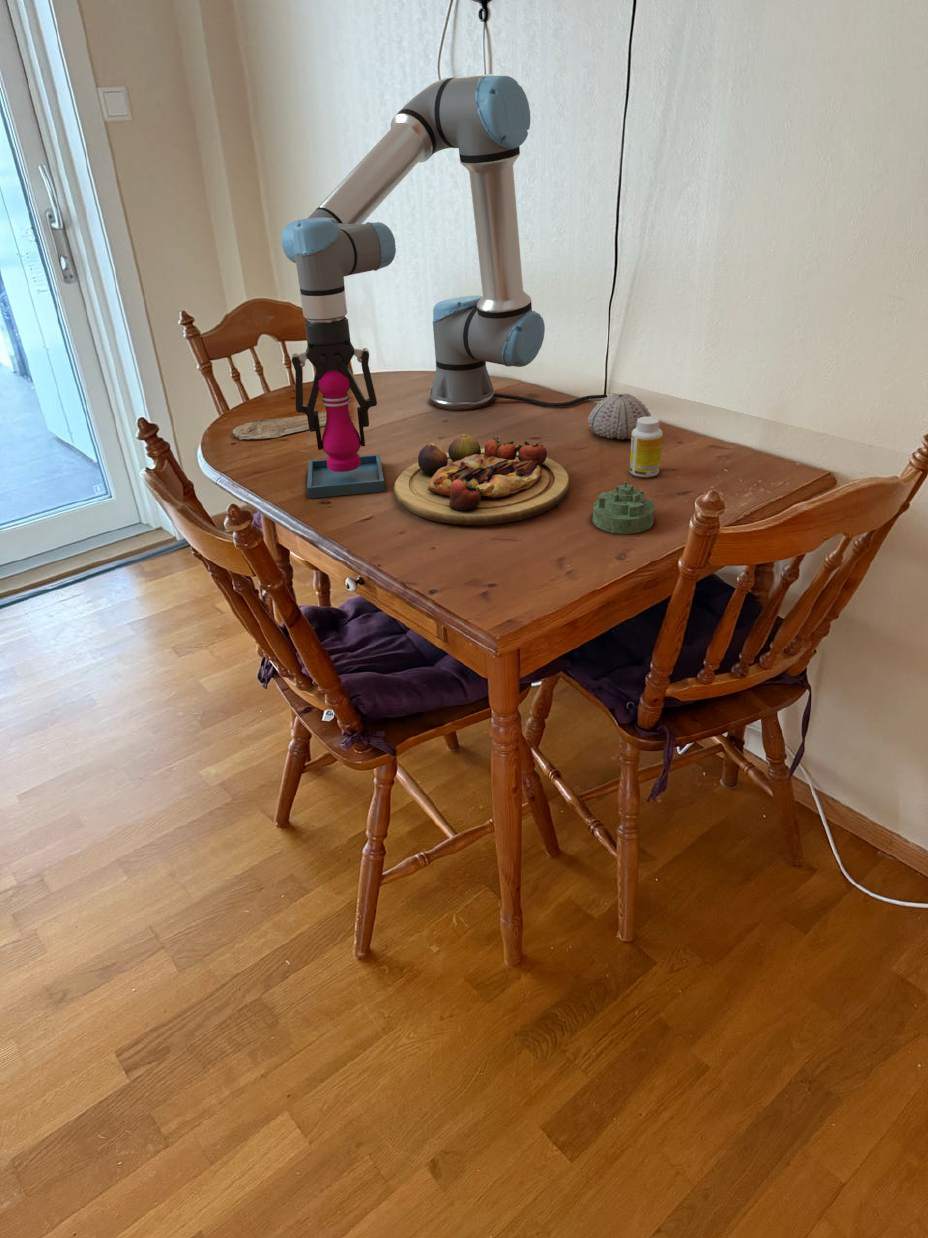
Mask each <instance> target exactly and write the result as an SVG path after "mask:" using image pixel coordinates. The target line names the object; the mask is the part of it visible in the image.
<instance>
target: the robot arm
mask: <svg viewBox="0 0 928 1238" xmlns="http://www.w3.org/2000/svg"><path fill="white" fill-rule="evenodd" d="M530 128H531V108H530V103H529V100H528V97H527V95H526V92H525V90H524V89H523V87H522V86H521V85H520V84H519V83H518V81H517V80H516V79H515V78H513V77H511V76H509V75H506V74H494V73H488V74H487V73H486V74H478V75H468V76H460V77H458V76H457V77H454V76H453V77H445V78H442V79H439V80H437V81H435V82H433V83H431V84H429V85H428V86H426V87H425V88H424V89H422V90H421V91H420V92H418V93H417V94H416V95H414V97H412V98H411V100H409V101H408V102H407V103H406V104H404V106H402V108H401V109H400V110H399V111H398V112H397V113H396V114H395V115H394V116H393V118H392V119H391V121H390V129H389V130H388V131H387V133H386V134H385V135H383V137H382V138H381V139H380V140H379V141H378V142H377V143H376V144H375V145H374V146H373V148H372V149H371V150H370V151H369V152H368V153H367V154H366V155H365V156H364V157H363V158H362V159H361V160H360V161H359V163H358V164H357V165H356V166H355V167H354V168H353V169H352V170H351V171H350V172H349V173H348V174H347V175H346V177H345V178H344V179H343V180H342V181H341V182H339V184H338V185H337V186H336V187H335V188H334V189H333V190H332V192H331V193H330V194H328V196H326V198H325V199H324V200H323V201H322V202H321V203H320V204H319V205H318V207H317V208H315V210H314V211H313V212H312V213H311V214H310V215H308V217H307V218H302V219H301V218H300V219H297V220H293V221H289V223H286V225H285V226H284V228H283V230H282V234H281V247H282V250H283V253H284V255H285V257H286V258H287V259H288V260H289V261H291V262H292V263H293V264H295V266H296V272H297V279H298V286H299V292H300V293H299V294H300V302H301V309H302V316H303V318H305V321H304V330H305V338H306V345H307V346H306V350H305V352H302V353H299V354H298V353H293V354H292V355H291V363H292V366H293V368H294V371H295V373H294V374H295V375H294V377H295V379H294V380H295V381H294V382H295V411H296V413H300V414H301V413H302V414H304V415H307V418H308V425H309V430H308V431H310V433H311V432H315V437H316V443H317V444H316V445H317V450H318V451H323V448H322V432H321V427H320V424H319V416H318V413H319V411H318V410H315V407H316V403H317V399H318V396H319V392H320V391H319V386H318V381H319V379H321V378H322V377H323V373H324V372H326V371H330V370H338V371H341V372H342V374H343V376H345V377H347V378H348V380H349V383H350V391H351V392H352V394H353V396H354V398H355V400H356V402H357V404H358V406H357V407H356V410H357V412H356V413H357V420H358V422H357V423H358V431H359V436H360V441H361V447H366V441H365V430H364V428H368V427H370V419H369V418H370V417H369V409H370V408H373V407H376V406H377V405H378V401H377V396H376V391H375V388H374V382H373V379H372V375H371V370H370V366H369V361H370V350H369V349H368V348H367V347H364V348H355V347H354V345H353V344H352V341H351V334H350V324H349V323H350V322H349V319H348V318H347V317H346V316H347V314H348V308H347V307H348V305H347V298H346V288H345V287H346V286H345V277H348V276H353V275H357V274H362V273H367V272H372V271H375V272H376V271H377V272H378V270H380V269H383V268H386V267H389V266H390V265H391V264H392V263H393V261H394V260H395V258H396V252H397V245H396V239H395V236H394V233H393V232H392V230H391V229H390V227H389V226H388V225H386V224H385V223H383V222H381V221H380V222H379V221H376V222H372V221H367V222H365V221H366V220H368V218H369V217H370V216H371V215H372V214H373V213H374V212H375V211H376V209H377V208H378V207H379V206H380V205H381V204H382V203H383V202H384V201H385V200H386V198H388V196H389V195H390V194H391V193H392V192H393V190H394V189H396V187H398V185H400V183H401V182H402V181H403V180H404V179H405V178H406V176H407V175H409V173H410V172H411V171H412V170H413V168H415V167H416V165H417V164H418V163H425V162H427V161H429V159H430V158H431V157H432V156H433V155H435V154H436V153H437V152H440V151H443V150H445V149H446V150H447V149H458V155H459V162H460V163H459V164H461V165H462V166H463V167H464V168H465V169H467V171H468V173H469V181H470V183H469V184H470V191H471V201H472V209H473V219H474V228H475V237H476V244H477V253H478V254H477V256H478V263H479V264H478V265H479V272H480V274H479V275H480V284H481V291H482V295H465V296H459V297H453V298H448V299H444V300H441V301H438V302H437V303H436V304H435V305H434V306H433V310H432V327H433V328H432V331H433V341H434V355H435V372H434V377H433V380H432V385H431V387H430V390H429V401H430V404H431V405H432V406H434V407H436V408H438V409H442V410H450V411H468V410H476V409H480V408H483V407H486V406H489V405H490V404H492V403H494V401H495V398H499V399H506V400H514V401H521V402H527V403H531V404H534V405H535V404H536V405H538V406H539V405H540V406H543V407H550V408H551V407H552V408H553V407H554V408H557V407H558V408H559V407H567V406H573V405H575V404H578V403H581V402H584V401H588V400H598V399H600V400H601V399H604V398H606V397H608V396H607V395H605V394H606V393H605V394H604V393H603V394H591V395H586V396H582V397H579V398H576V399H573V400H570V401H565V402H548V401H544V400H543V401H542V400H538V399H535V398H530V397H525V396H519V395H511V394H503V393H496V392H495V388H494V386H493V382H492V381H491V377H490V374H489V371H488V369H487V363H491V364H496V365H501V366H505V367H510V368H511V367H515V368H516V367H517V368H523V367H525V366H528V365H530V364H531V363H532V362H533V361H534V360H535V359H536V357H537V356H538V354H539V352H540V350H541V349H542V346H543V344H544V340H545V339H544V338H545V331H546V326H545V321H544V318H543V317H542V315H541V313H539V312H537V311H535V310H533V306H532V305H533V304H532V297H531V295H529V294H528V293H527V292H526V291H525V290H524V284H523V283H524V282H523V271H522V259H521V247H520V245H521V244H520V233H519V223H518V222H519V221H518V220H519V219H518V210H517V197H516V185H515V172H514V165H515V162H516V161H517V160H518V159H519V157H520V156H521V149H520V146H522V145H523V144H524V142H525V141H526V140H527V138H528V135H529V132H528V130H530ZM364 222H365V223H364ZM353 357H355V358H356V360H357V362H358V363H360V364H361V370H362V374H363V378H364V379H363V380H364V383H365V387H366V391H367V395H368V398H367V399H366V398H365V396H364V394H363V392H362V390H361V388H360V387H359V384H358V383H357V381H356V379H355V377H354V374H353V373H352V371H351V369H350V367H349V364H350V362H351V361H352V359H353ZM307 360H308V361H309V362H310V363H311V364H312V365H313V367H314V368H315V372H314V377H313V381H312V385H311V390H310V392H309V397H308V401H307V404H306V403H304V374H303V373H304V371H303V368H304V367H305V366H306V361H307Z"/></svg>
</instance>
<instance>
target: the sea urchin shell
mask: <svg viewBox="0 0 928 1238" xmlns="http://www.w3.org/2000/svg"><path fill="white" fill-rule="evenodd" d="M611 394H612V395H609V396H608V397H606V398H602V400H601V399H600V401H599V402H598V403H596V405H595V406H594V408H592V410H591V411H590V412H589V413H588V414H589V416H588V417H587V419H588V420H587V423H588V427H589V428H590V431H592V432H593V433H594V434H596V435H599V437H604V438H608V439H618V440H625V439H627V440H631V438H632V431H633V430H634V429H635V428H636V427H637V420H638V418H641V417H652V414H651V412H650V411H649V408H647V407H646V405H645V404H643V402H642V401H641V400H639V398H637V397H636V396H633V395H632V394H629V393H611Z"/></svg>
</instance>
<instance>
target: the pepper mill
mask: <svg viewBox="0 0 928 1238" xmlns="http://www.w3.org/2000/svg"><path fill="white" fill-rule="evenodd" d="M318 386H319V392H320V393H321V394H322V396H321V400H322V405H323V406H324V407H325V412H326V425H325V426H324V429H323V433H322V435H321V438H322V451H323V452H324V453H325V454H326V455H327V457H326V459H327V467H328V469H329V470H331V471H335V472H347V471H351V470H355V469H357V468H358V467H359V466H360V464H361V462H360V456H361V455H360V454H359V453H358V452H359V451H360V449H361V447H362V446H361V440H360V433H359V432H358V431H359V430H357V428H356V426H355V424H354V422H353V421H352V418H351V415H350V411H349V404H350V402H351V399H350V394H349V393H348V392H349V390H351V388H350V383H349V380H348V378H347V377H345V376H343V374H342V372H341V371H338V370H330V371H326V372H324V373H323V377H322V378H321V379H319V381H318Z"/></svg>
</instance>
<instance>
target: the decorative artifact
mask: <svg viewBox="0 0 928 1238" xmlns="http://www.w3.org/2000/svg"><path fill="white" fill-rule="evenodd" d="M644 493H645V491H644V490H642V489H638V488H635V487H634V485H632V484H628V481H627V480H624V481H623V484H620V485H619V484H617V485H616V487H615V488H614V489H613V490H610V491H608V492H604V491H601V492H600V493H599V495H598V499H597V500H595V501H594V503H593V505H592V506H593V507H592V523H593V524H594V526H595V527H597V528H598V529H600V530H602V531H604V532H607V533H611V534H619V535H633V534H638V533H642V532H645V531H648V530H649V529H650V528H652V527H653V525H654V523H655V522H654V521H655V510H656V509H655V508H656V506H655V504H654V503H653V502H652V500H649V499H648V498H646V497H645V495H644Z"/></svg>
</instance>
